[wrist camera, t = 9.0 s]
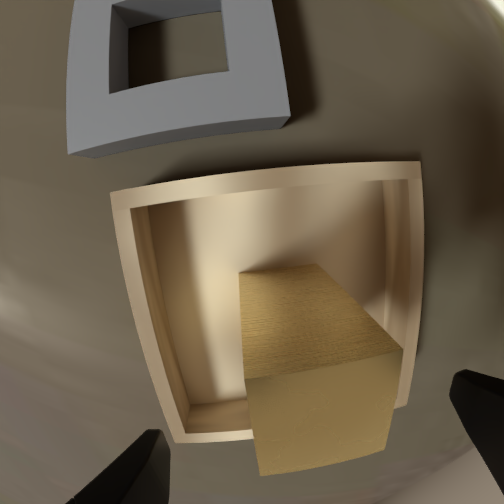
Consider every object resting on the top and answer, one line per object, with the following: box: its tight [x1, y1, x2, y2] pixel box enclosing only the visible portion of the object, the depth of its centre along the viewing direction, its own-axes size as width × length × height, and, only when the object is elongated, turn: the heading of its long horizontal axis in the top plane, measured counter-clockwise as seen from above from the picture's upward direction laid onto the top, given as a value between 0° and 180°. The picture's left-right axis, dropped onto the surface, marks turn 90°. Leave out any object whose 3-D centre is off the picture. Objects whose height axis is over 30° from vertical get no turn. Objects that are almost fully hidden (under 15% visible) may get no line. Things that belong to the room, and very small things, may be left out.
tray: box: [110, 161, 424, 443], centre depth 15 cm, size 14×14×4 cm
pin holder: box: [66, 0, 291, 158], centre depth 12 cm, size 10×10×3 cm
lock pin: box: [238, 263, 404, 476], centre depth 12 cm, size 4×4×9 cm
